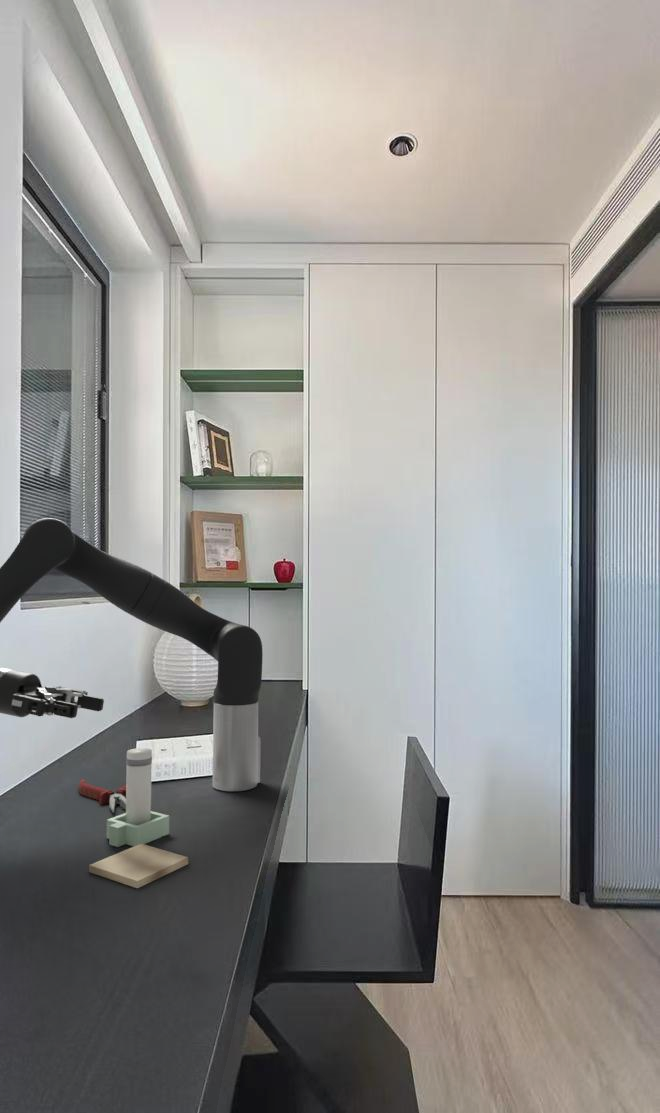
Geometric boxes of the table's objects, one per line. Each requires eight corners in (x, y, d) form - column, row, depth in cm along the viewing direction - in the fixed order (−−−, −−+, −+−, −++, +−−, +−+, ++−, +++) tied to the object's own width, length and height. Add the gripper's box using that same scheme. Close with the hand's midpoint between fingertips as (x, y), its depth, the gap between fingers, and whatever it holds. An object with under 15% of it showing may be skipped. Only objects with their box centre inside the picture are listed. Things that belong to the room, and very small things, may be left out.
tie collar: (139, 825, 123) (139, 808, 123) (169, 833, 119) (169, 815, 119) (98, 841, 115) (98, 822, 115) (129, 850, 111) (129, 831, 112)
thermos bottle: (138, 829, 120) (140, 746, 121) (156, 834, 118) (157, 750, 119) (119, 837, 117) (121, 751, 117) (137, 842, 115) (138, 755, 115)
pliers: (88, 822, 126) (88, 807, 126) (77, 790, 144) (77, 777, 144) (153, 813, 131) (153, 799, 131) (134, 784, 149) (134, 771, 149)
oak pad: (141, 849, 112) (141, 843, 112) (188, 864, 106) (188, 857, 106) (89, 872, 103) (89, 865, 103) (137, 888, 98) (137, 881, 98)
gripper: (-18, 672, 117) (71, 690, 114) (33, 666, 131) (113, 682, 127) (-26, 718, 116) (62, 737, 113) (26, 707, 130) (106, 724, 127)
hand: (89, 708), depth 120 cm, fingers open, 8 cm apart
